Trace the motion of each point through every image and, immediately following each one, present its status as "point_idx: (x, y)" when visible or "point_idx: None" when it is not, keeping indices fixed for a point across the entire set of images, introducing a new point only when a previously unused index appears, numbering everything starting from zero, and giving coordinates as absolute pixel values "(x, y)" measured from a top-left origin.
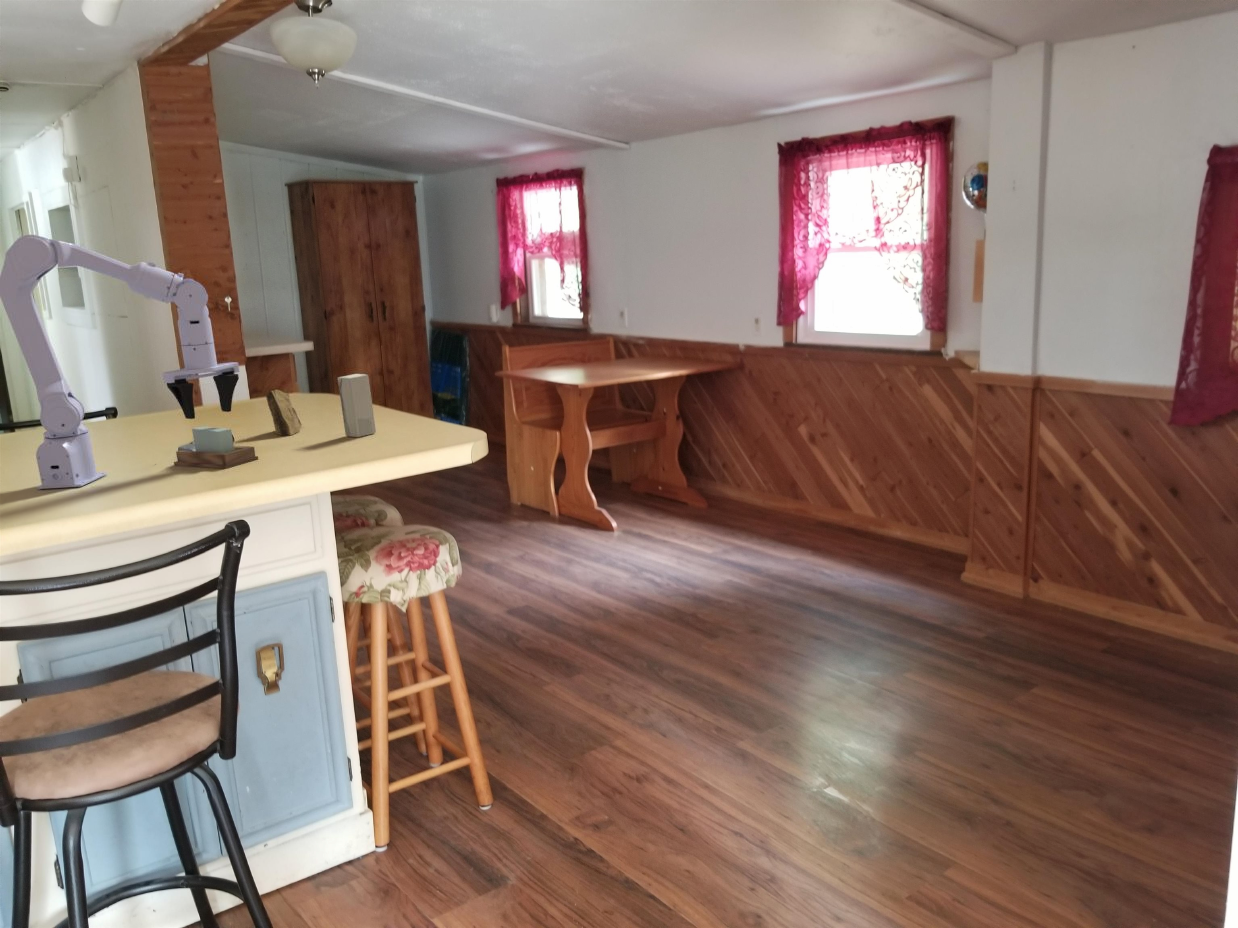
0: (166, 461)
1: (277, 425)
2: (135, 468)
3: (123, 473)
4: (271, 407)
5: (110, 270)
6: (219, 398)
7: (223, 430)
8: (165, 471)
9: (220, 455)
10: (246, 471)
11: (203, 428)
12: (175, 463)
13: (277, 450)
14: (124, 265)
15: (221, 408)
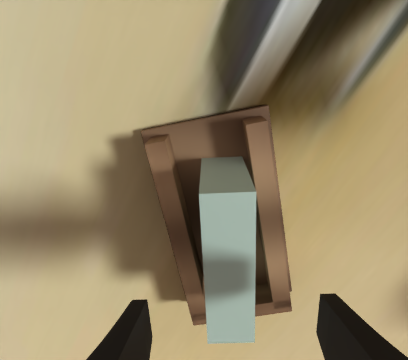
0: (157, 38)
1: None
2: (50, 42)
3: (3, 82)
4: None
5: None
6: (353, 338)
7: (228, 340)
8: (93, 184)
9: (189, 309)
10: (197, 357)
11: (222, 237)
12: (143, 137)
13: (390, 239)
14: None
15: (325, 304)
